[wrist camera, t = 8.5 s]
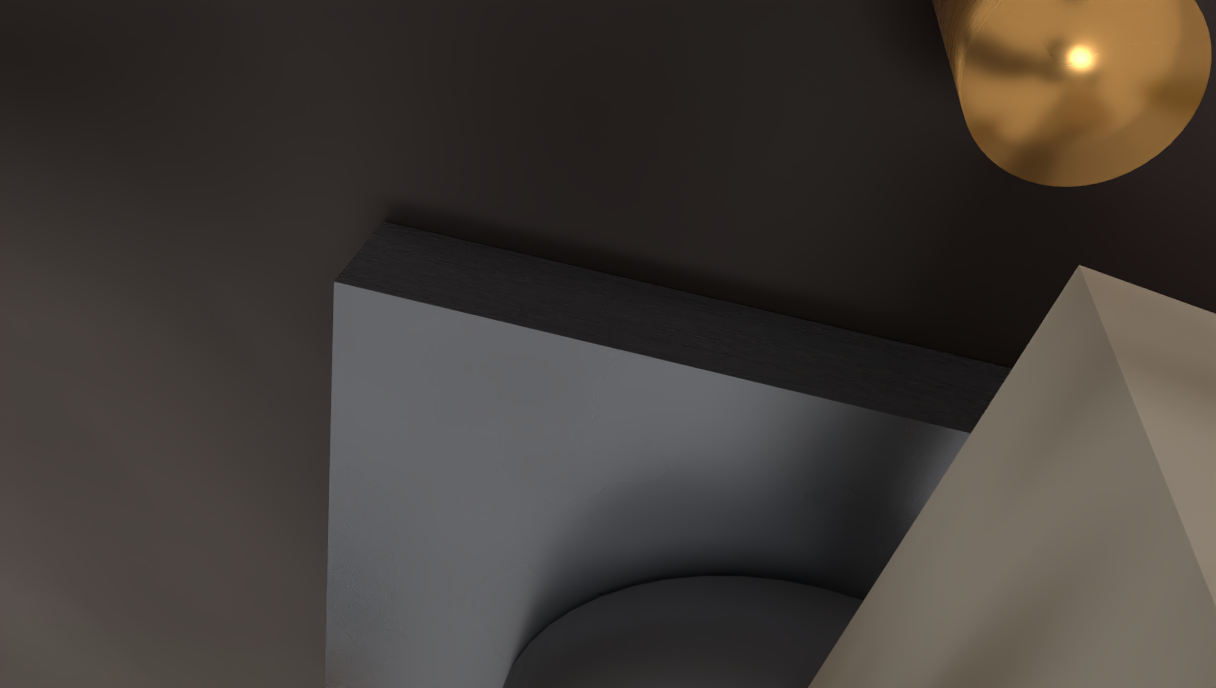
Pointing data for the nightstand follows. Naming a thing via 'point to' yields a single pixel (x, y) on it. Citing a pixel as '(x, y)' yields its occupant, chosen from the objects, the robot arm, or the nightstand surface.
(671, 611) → the knob
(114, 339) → the nightstand surface
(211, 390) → the nightstand surface
